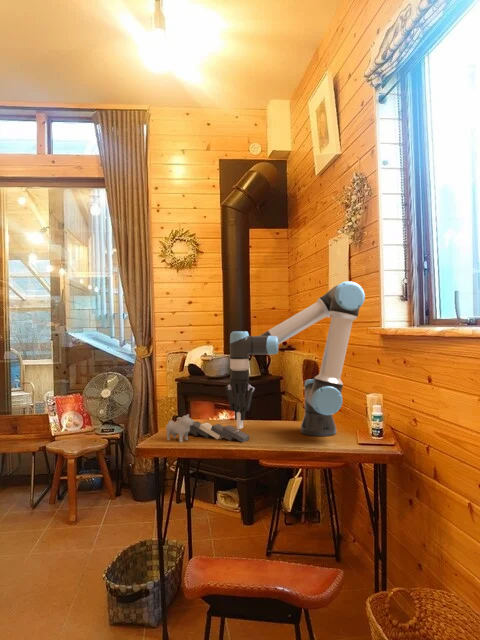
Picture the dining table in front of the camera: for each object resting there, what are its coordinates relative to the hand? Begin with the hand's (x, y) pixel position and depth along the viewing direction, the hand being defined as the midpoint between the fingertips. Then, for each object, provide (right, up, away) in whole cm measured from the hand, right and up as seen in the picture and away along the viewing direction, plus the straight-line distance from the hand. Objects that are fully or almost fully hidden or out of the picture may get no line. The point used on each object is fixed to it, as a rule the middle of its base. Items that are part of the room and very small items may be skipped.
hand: (240, 428), depth 181 cm
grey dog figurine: (-24, -5, +1) cm, 25 cm away
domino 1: (-21, -5, +11) cm, 25 cm away
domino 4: (-2, -4, +1) cm, 5 cm away
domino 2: (-17, -4, +9) cm, 19 cm away
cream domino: (-7, -4, +3) cm, 9 cm away
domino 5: (+2, -4, -1) cm, 5 cm away
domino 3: (-12, -4, +6) cm, 14 cm away
